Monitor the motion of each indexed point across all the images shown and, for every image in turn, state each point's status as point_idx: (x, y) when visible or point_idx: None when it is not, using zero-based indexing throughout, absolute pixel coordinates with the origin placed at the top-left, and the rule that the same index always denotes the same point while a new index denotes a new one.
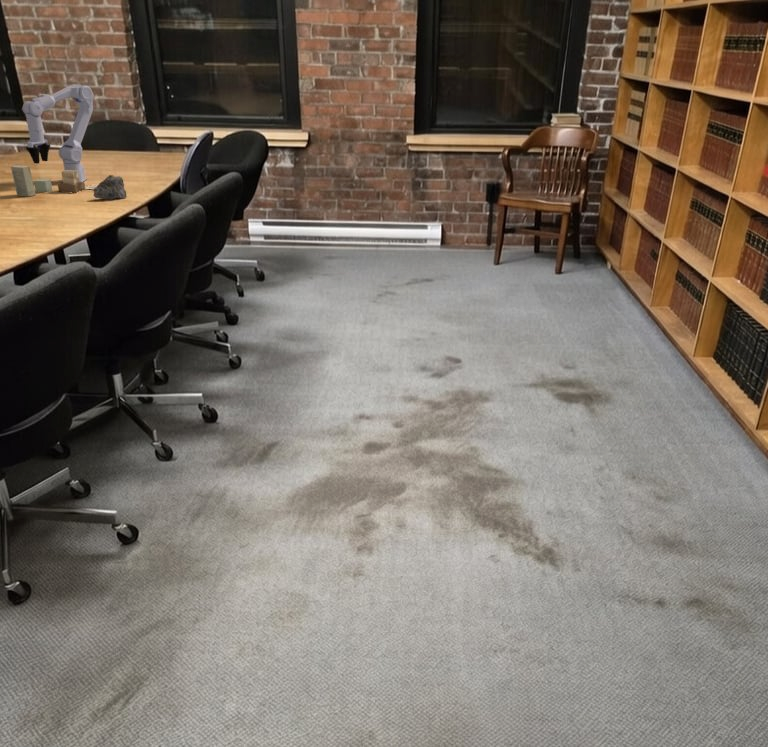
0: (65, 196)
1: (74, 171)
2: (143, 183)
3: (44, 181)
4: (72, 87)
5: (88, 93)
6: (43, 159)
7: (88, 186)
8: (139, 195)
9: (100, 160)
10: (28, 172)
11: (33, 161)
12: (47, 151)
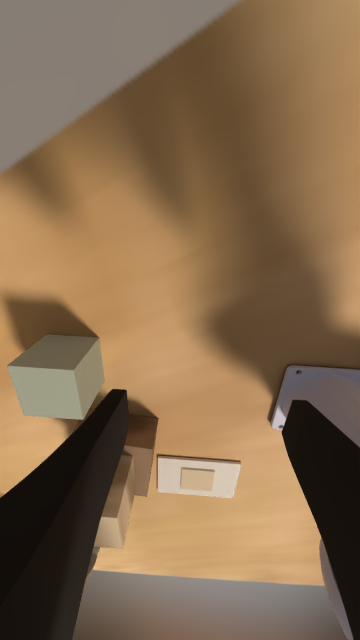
0: (29, 442)
1: (94, 545)
2: (284, 551)
3: (23, 411)
4: None
5: None
6: (295, 423)
7: (200, 464)
8: (121, 558)
9: None
10: None
11: (102, 401)
12: (343, 577)
